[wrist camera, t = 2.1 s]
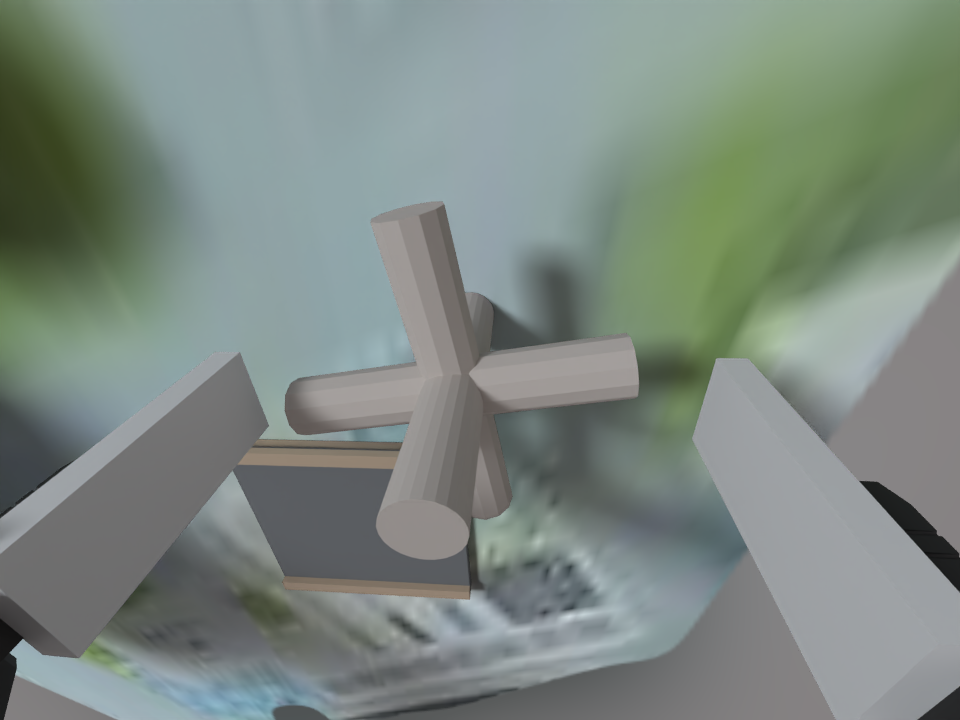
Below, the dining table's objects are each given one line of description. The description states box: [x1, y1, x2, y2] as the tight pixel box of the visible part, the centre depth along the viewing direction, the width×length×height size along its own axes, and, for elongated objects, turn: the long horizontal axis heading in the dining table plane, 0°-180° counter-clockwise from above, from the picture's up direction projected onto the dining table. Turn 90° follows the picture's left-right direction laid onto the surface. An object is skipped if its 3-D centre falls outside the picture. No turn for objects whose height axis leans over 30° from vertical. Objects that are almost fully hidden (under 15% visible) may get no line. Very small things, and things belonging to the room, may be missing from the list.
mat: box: [233, 439, 471, 600], centre depth 23 cm, size 12×12×1 cm
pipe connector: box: [285, 202, 639, 560], centre depth 12 cm, size 10×10×10 cm
